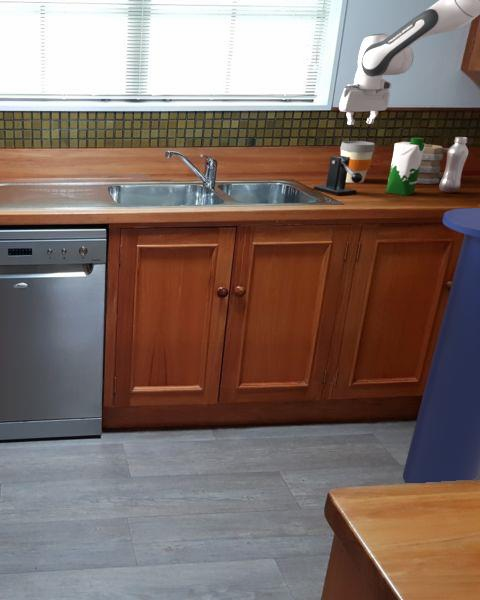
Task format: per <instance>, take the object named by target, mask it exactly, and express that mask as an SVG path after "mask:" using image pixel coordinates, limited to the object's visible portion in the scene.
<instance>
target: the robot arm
mask: <svg viewBox="0 0 480 600" xmlns="http://www.w3.org/2000/svg"><path fill="white" fill-rule="evenodd" d="M479 16H480V0H437V1H436V2H435V3H434V4H432V5H431V6H429V7H428V8H426V9H425V10H424V11H422V12H421V13H419V14H418V15H416V16H415V17H413V18H412V19H411V20H409V21H408V22H406V23H405V24H404V25H403V26H401V27H400V28H398V29H397V30H396V31H394V32H393V33H392V34H390V35H388V34H387V33H375V34H370V35H368V36H366V37H364V38H363V40H362V42H361V45H360V48H359V52H358V58H357V70H356V72H355V75H354V80H353V84H351V83H348V84H347V85H346V86H345V87H344V88H343V92H342V94H341V97H340V101H339V105H338V110H339V112H343V113H345V114H346V115H345V116H346V119H347V126H354V125H355V121H356V120H355V119H354V114H355V113H356V112H370V115H369V117H368V118H367V119H366V124H367V125H373V124H374V122H375V119H376V117H377V116H378V114H379V112H381V111H386V110H387V108H388V106H389V102H390V95H391V91H390V90H391V88H392V86H393V85H392V84H393V83H391V82H390V81H388V80H386V79H384V78H383V76H397V75H402V74H405V73H406V72H407V71H408V70H410V68H411V66H412V65H413V61H414V52H413V49H412V48H411V47H410V46H412V45H413V44H415V43H416V42H418V41H419V40H422V39H423V38H427V37H429V36H433V35H438V34H442V33H443V34H444V33H449V32H454V31H456V30H459V29H460V28H463V27H465V26H466V25H467V24H469V23H471V22H472V21H474V20H475V19H476V18H478V17H479Z"/></svg>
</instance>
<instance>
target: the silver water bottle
mask: <svg viewBox="0 0 480 600" xmlns="http://www.w3.org/2000/svg"><path fill="white" fill-rule="evenodd" d="M467 143H468V137H466V136H455V138H454V144H452V146H450V147H449V148H450V149H449V150H448V153H446V154H447V155H446V163H445V167H444V168H445V169H444V172H443V173H444V175H443V178H441V180H440V181H439V183H438V184H439V186H438V189H439V191H441V192H444V193H449V194H450V193H457V192H458V191H459V189H460V187H461V178H462V174H463V173H462V172H463V168H464V166H465V163H466V161H467V158H468V155H469V149H468V146H467V145H466V144H467Z"/></svg>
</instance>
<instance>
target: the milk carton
mask: <svg viewBox="0 0 480 600" xmlns="http://www.w3.org/2000/svg"><path fill="white" fill-rule="evenodd" d="M424 140H425V138H424V137H411V138H410V141H400V142H396V143H394V145H393V146H394V147H393V154H392V159H391V164H390V168H389V169H390V170H389V174H388V175H389V176H388V179H387V186H386V193H388V194H394V195H400V196H404V197H405V196H409V195H412V194H415V191H416V187H417V183H416V182H417V178H418V173H419V169H420V164H421V159H422V155H423V152H424V149H425V146H426V143H424Z"/></svg>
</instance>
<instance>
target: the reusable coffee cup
mask: <svg viewBox="0 0 480 600" xmlns="http://www.w3.org/2000/svg"><path fill="white" fill-rule="evenodd" d="M375 147H376V143H375V142H371V141H364V140H343V141H342V142H341V145H340V147H339V148H340V156H346V157H350V161H349V166H348V167H349V168H350V169H351V170H352V171H353V172H354V173H361V174H362V180H361V181H360V182H358V183H357V184H361V183H364V182H365V179H366V175H367V172H368V170H369V169H370V166H371V165H372V161H373V158H372V157H373V155H374V152H375V149H376V148H375ZM351 177H352V176H351V175H350V174H349V173H348V172H347V178H346V183H350V184H356V183H355V182H353V181H352V179H351Z"/></svg>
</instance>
